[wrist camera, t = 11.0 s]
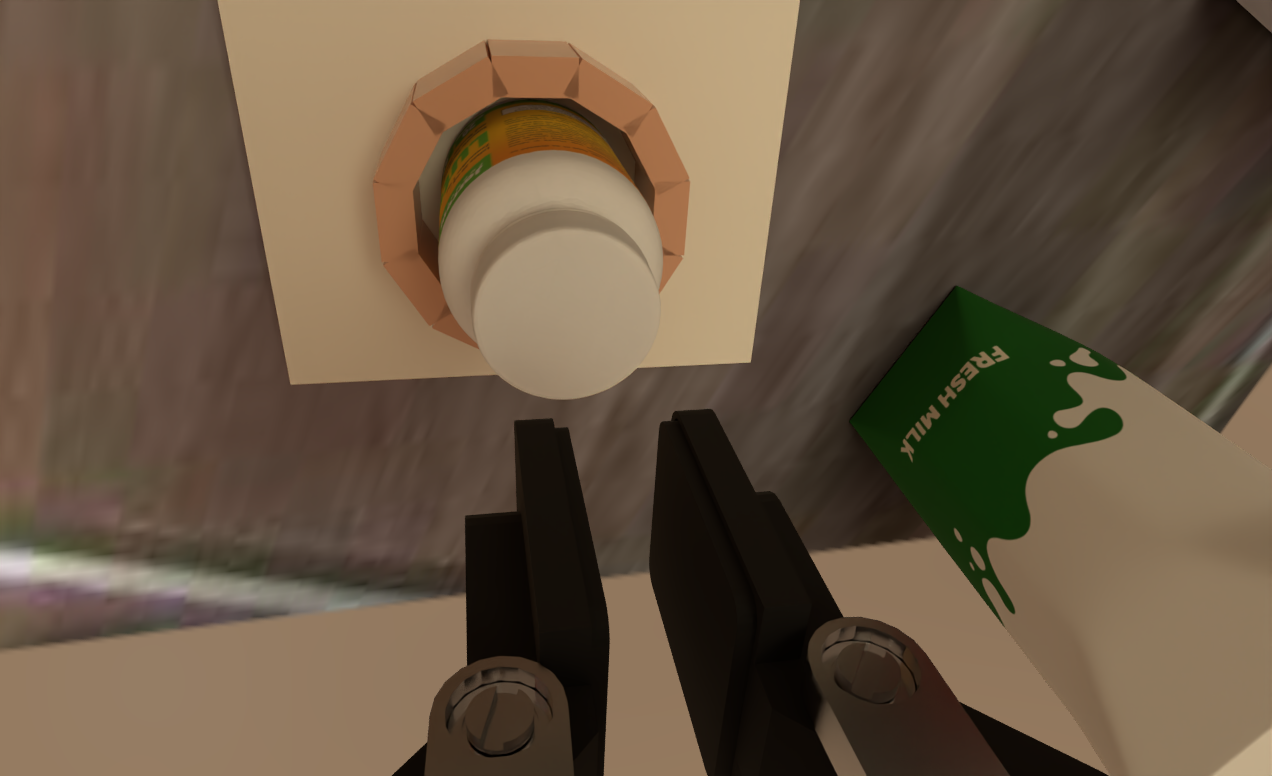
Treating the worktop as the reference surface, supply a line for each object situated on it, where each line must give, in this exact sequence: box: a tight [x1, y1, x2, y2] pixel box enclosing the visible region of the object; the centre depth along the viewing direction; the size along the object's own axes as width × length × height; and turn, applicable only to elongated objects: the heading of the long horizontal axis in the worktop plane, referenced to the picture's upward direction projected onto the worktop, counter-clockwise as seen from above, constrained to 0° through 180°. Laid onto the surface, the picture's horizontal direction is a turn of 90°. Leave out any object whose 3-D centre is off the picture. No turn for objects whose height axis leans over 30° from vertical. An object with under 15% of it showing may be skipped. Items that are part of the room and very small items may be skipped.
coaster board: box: [217, 0, 800, 385], centre depth 26 cm, size 13×16×2 cm
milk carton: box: [850, 286, 1272, 776], centre depth 26 cm, size 9×9×20 cm
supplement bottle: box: [438, 98, 663, 399], centre depth 21 cm, size 5×5×10 cm
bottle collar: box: [373, 39, 690, 350], centre depth 24 cm, size 9×9×3 cm
